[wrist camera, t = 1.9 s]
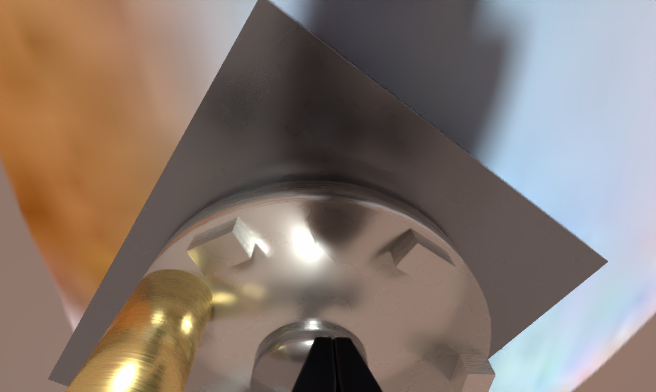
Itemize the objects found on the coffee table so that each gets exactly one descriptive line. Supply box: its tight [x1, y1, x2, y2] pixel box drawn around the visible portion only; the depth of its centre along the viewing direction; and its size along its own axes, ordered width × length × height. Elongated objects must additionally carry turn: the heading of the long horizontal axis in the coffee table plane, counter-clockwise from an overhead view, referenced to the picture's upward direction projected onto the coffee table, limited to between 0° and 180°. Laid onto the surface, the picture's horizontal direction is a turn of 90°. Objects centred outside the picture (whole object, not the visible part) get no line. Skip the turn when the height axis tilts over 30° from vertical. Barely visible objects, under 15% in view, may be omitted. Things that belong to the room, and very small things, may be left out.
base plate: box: [48, 0, 608, 386], centre depth 19 cm, size 22×19×2 cm
